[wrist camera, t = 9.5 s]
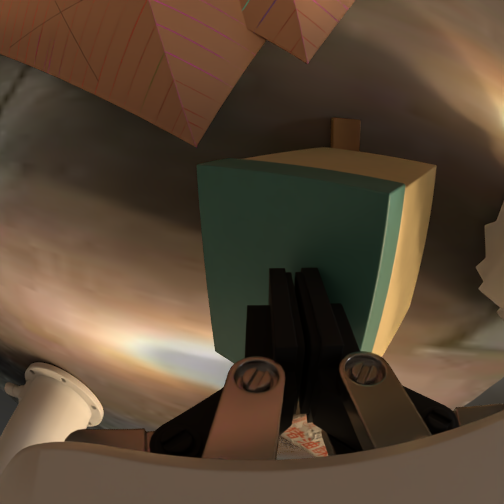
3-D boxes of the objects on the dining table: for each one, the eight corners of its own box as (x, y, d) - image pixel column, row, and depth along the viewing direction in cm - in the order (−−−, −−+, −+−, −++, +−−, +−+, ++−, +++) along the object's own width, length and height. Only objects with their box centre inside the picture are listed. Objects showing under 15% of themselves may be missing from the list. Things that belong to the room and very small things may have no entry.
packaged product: (391, 447, 30) (324, 475, 32) (382, 420, 34) (319, 448, 36) (330, 391, 24) (239, 430, 26) (321, 354, 28) (241, 394, 31)
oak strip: (319, 292, 25) (320, 297, 24) (331, 117, 19) (333, 117, 19) (341, 291, 25) (344, 296, 24) (357, 119, 19) (361, 119, 19)
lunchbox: (214, 351, 17) (338, 422, 12) (195, 164, 12) (390, 193, 7) (315, 276, 24) (408, 309, 19) (322, 144, 20) (436, 162, 15)
